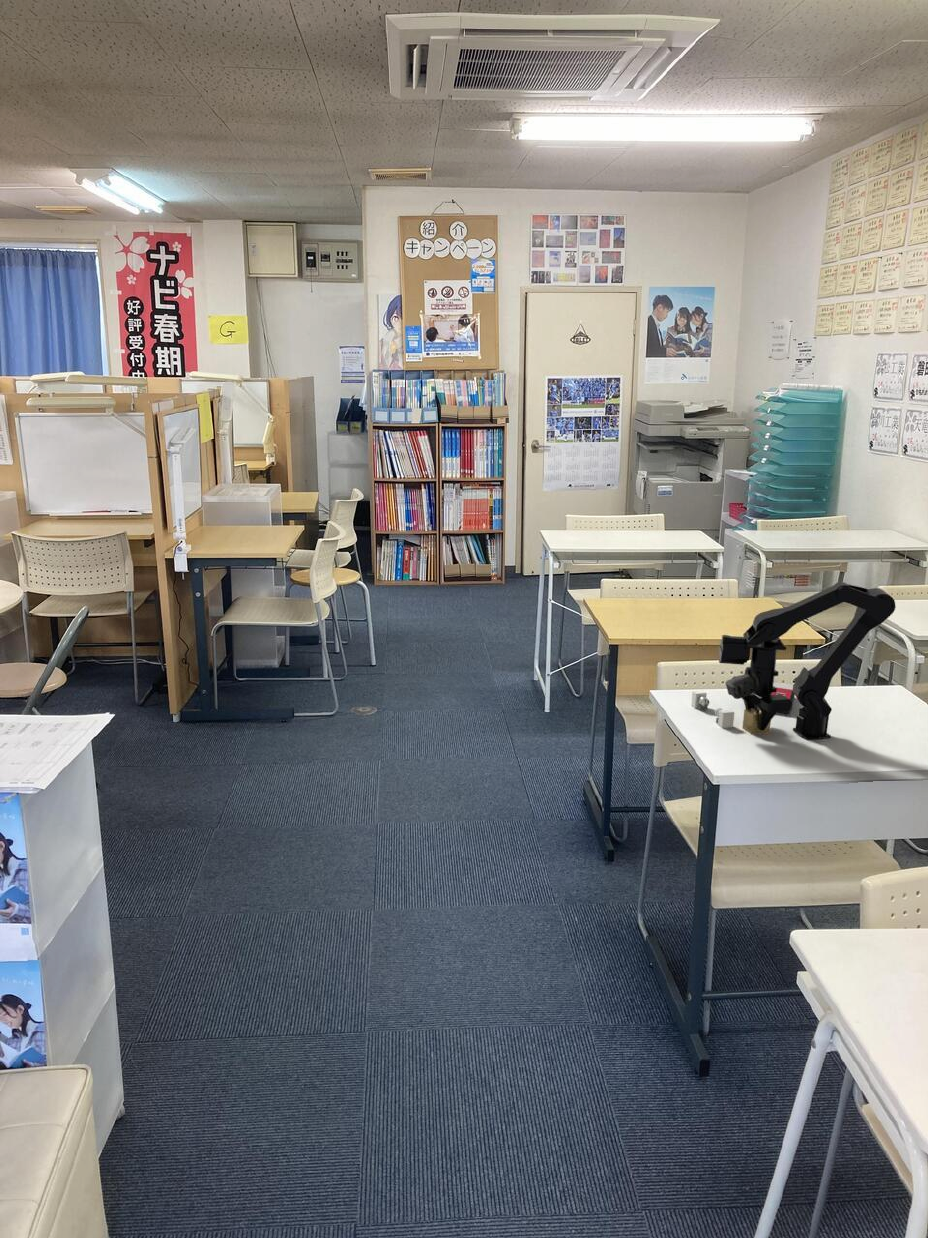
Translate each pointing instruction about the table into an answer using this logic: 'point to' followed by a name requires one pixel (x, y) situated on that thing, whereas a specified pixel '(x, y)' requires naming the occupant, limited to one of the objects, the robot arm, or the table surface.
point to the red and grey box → (784, 693)
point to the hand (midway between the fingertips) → (756, 726)
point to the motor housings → (724, 715)
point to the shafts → (704, 703)
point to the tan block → (753, 722)
